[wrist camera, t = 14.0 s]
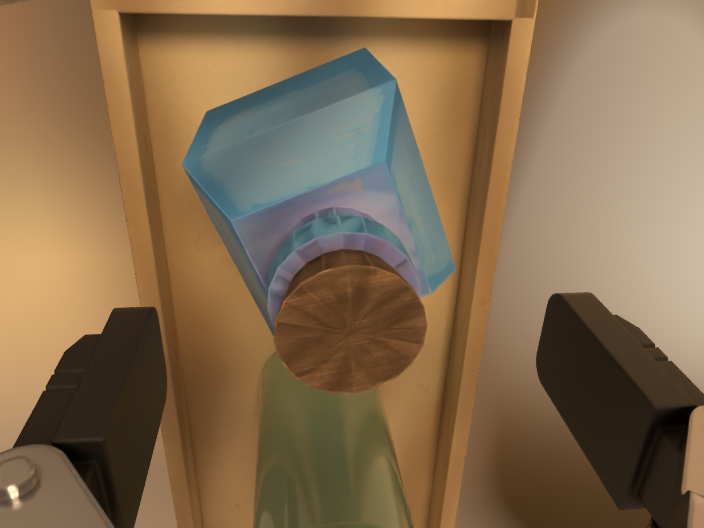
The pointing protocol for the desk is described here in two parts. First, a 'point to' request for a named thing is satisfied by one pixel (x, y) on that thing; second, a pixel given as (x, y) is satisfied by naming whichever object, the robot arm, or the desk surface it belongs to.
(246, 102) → the perfume bottle
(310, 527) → the sage bottle
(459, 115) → the tray stand
